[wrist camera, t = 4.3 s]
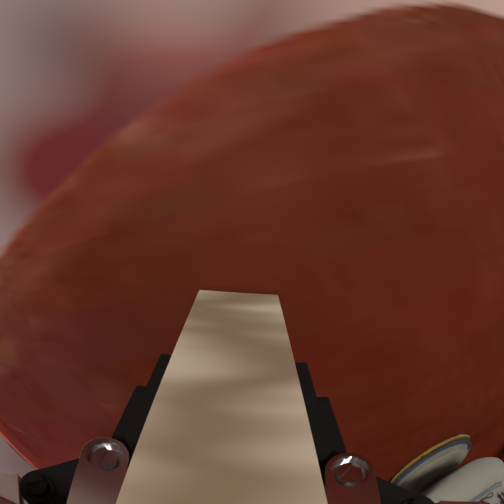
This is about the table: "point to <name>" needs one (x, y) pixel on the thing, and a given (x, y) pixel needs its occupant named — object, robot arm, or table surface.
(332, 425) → the robot arm
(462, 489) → the apothecary jar
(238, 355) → the cream rectangular block
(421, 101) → the table surface
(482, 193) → the table surface
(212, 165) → the table surface
